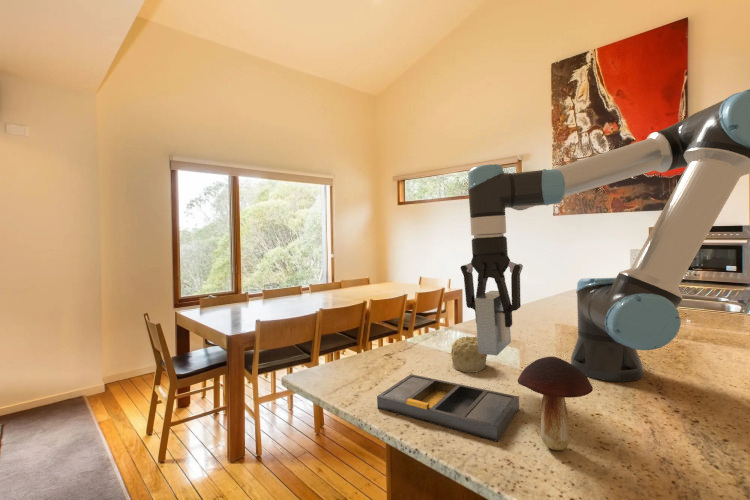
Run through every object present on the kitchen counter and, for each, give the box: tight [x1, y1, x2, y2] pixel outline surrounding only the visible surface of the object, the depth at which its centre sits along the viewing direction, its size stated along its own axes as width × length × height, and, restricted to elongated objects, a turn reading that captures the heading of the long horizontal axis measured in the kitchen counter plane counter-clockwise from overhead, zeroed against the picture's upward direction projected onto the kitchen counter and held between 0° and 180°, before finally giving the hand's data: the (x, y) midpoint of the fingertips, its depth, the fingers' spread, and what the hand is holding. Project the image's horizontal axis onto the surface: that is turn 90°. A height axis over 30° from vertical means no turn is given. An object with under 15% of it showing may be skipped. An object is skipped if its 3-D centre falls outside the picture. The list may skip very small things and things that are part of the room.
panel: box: [475, 290, 512, 356], centre depth 84 cm, size 4×10×12 cm, turn 145°
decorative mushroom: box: [517, 356, 594, 451], centre depth 61 cm, size 11×11×15 cm
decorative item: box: [450, 336, 488, 373], centre depth 100 cm, size 10×10×10 cm
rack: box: [376, 373, 520, 443], centre depth 76 cm, size 25×14×3 cm, turn 54°
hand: (494, 339), depth 84 cm, fingers closed on panel, 4 cm apart
